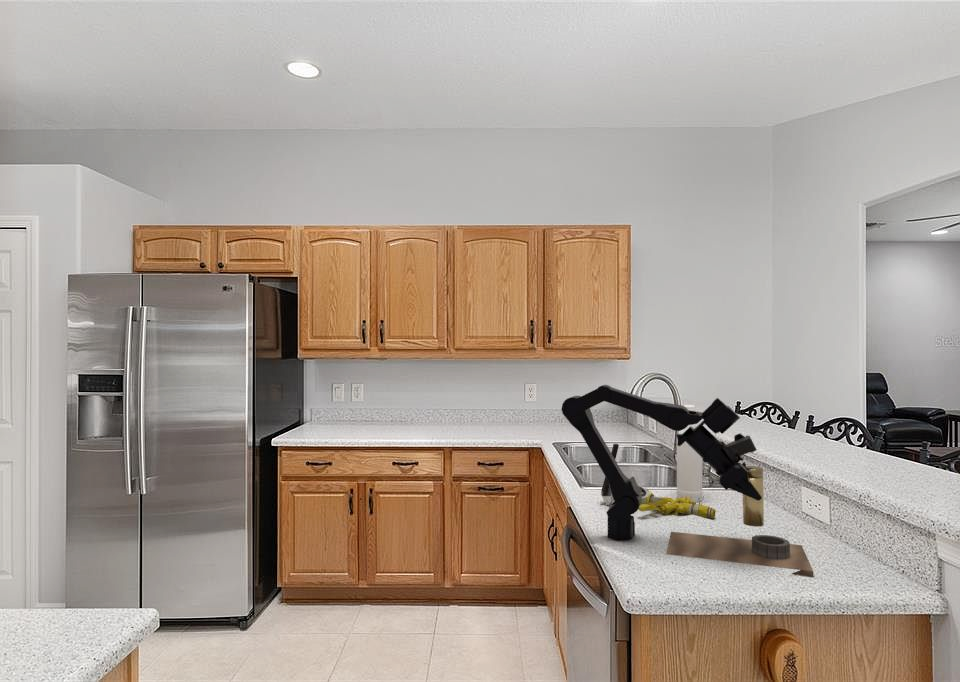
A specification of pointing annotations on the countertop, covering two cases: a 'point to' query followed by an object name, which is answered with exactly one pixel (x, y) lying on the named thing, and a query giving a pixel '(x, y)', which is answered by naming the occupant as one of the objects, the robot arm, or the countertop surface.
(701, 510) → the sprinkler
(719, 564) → the countertop surface
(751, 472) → the brass fitting
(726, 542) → the board
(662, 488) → the countertop surface
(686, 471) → the bottle
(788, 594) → the countertop surface
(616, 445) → the butterfly valve
